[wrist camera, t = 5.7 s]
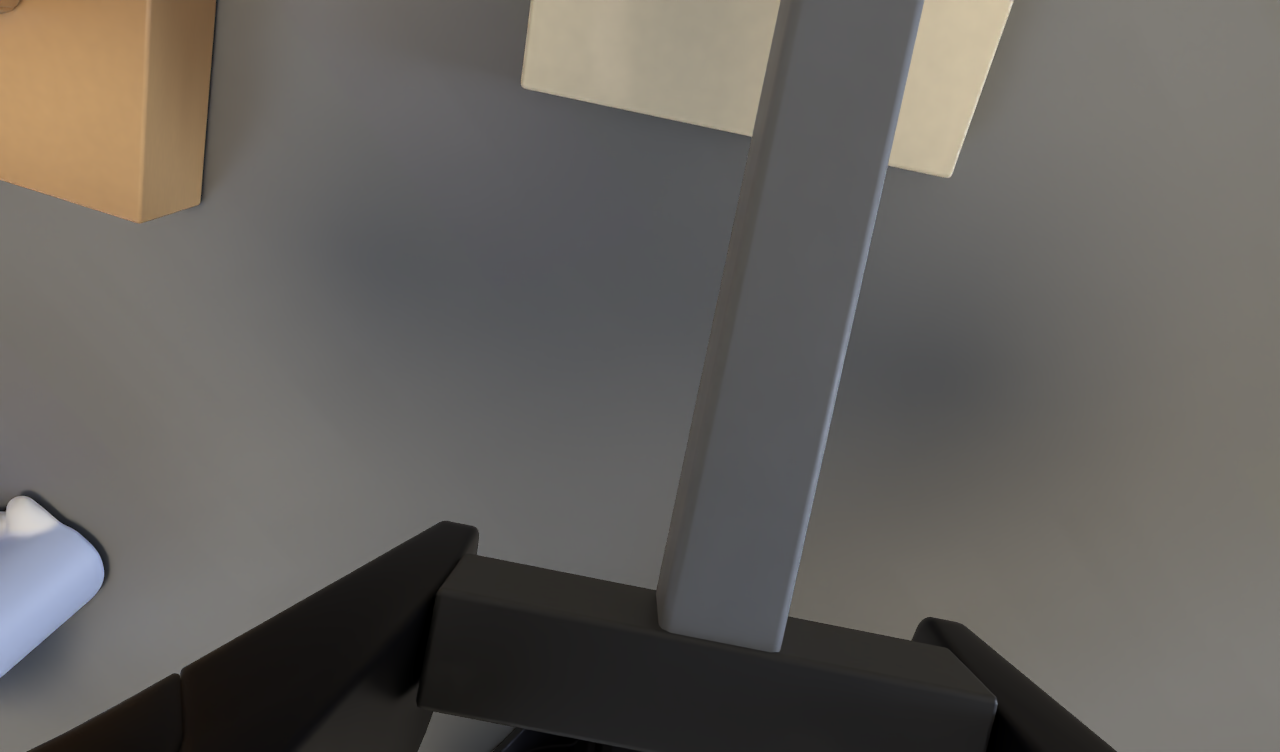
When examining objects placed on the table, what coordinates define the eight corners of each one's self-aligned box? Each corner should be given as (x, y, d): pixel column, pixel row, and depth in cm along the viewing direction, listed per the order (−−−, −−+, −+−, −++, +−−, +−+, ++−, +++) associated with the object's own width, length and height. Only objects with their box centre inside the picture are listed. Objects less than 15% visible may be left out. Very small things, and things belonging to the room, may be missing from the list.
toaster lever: (902, 716, 8) (1010, 871, 6) (458, 630, 8) (388, 752, 6) (1164, -405, 8) (1403, -735, 5) (682, -517, 8) (704, -907, 5)
